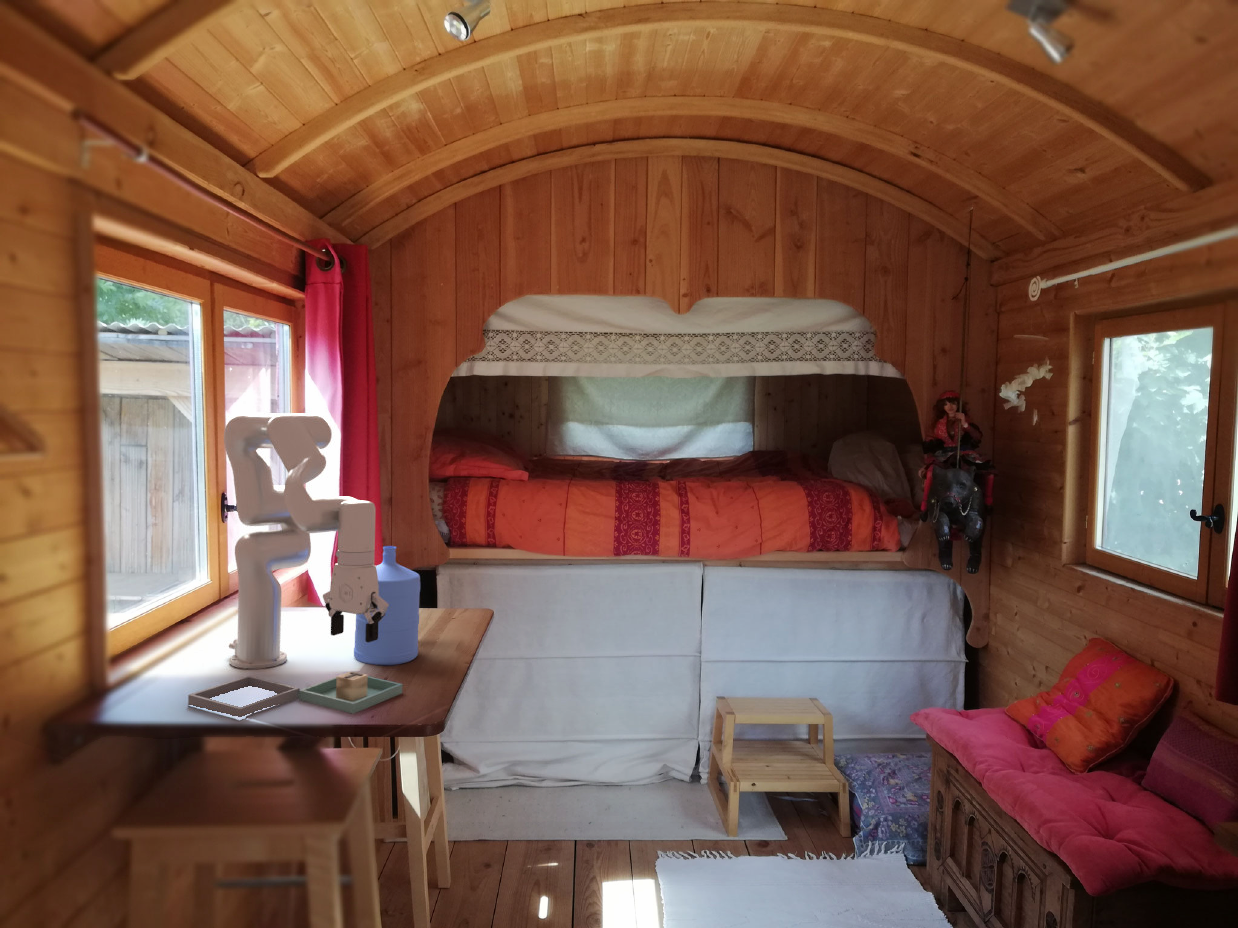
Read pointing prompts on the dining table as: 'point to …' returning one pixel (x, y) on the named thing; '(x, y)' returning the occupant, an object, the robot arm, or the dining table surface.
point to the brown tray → (203, 697)
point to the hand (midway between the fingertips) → (354, 637)
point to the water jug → (392, 616)
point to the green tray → (327, 697)
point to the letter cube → (351, 686)
